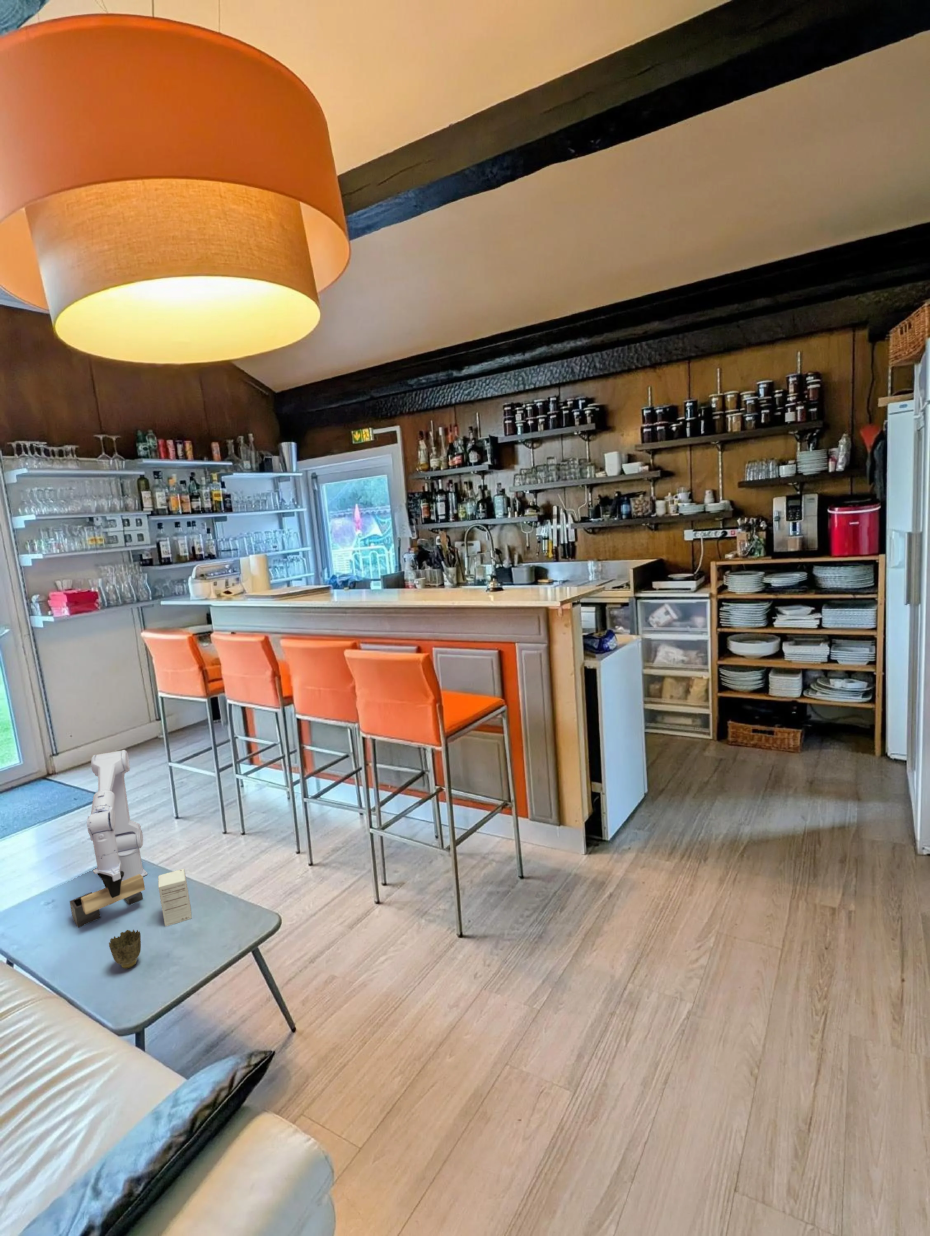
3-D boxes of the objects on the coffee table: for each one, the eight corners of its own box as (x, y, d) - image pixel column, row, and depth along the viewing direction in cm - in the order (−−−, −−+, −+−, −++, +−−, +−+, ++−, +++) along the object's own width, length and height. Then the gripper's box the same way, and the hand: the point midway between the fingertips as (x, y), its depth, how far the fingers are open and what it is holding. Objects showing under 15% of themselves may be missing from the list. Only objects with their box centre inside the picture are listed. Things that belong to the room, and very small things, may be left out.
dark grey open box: (72, 919, 192) (69, 901, 191) (95, 910, 196) (91, 892, 195) (78, 927, 188) (74, 909, 187) (100, 918, 192) (97, 899, 191)
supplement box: (164, 914, 192) (157, 875, 190) (191, 906, 195) (185, 867, 193) (164, 927, 185) (157, 887, 183) (192, 919, 188) (185, 879, 186)
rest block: (123, 898, 202) (122, 892, 202) (136, 892, 205) (135, 886, 204) (129, 905, 198) (128, 899, 197) (143, 899, 200) (142, 893, 200)
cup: (137, 952, 175) (132, 925, 174) (150, 962, 170) (145, 935, 169) (108, 968, 170) (103, 940, 168) (120, 979, 165) (115, 951, 164)
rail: (83, 910, 186) (80, 897, 185) (141, 886, 196) (139, 873, 196) (85, 914, 183) (83, 902, 183) (145, 889, 194) (143, 877, 194)
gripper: (84, 848, 190) (91, 890, 192) (98, 865, 179) (106, 910, 182) (110, 839, 195) (117, 880, 197) (125, 855, 184) (132, 898, 186)
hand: (113, 893), depth 190 cm, fingers closed on rail, 3 cm apart
